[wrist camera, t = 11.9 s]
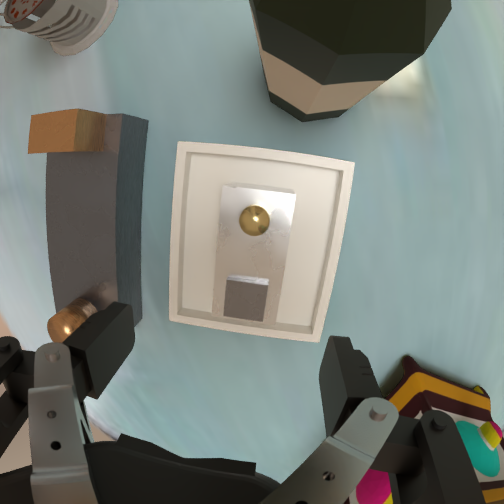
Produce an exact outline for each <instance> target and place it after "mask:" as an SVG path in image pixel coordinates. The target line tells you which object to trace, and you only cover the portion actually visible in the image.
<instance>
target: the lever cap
mask: <svg viewBox="0 0 504 504" xmlns="http://www.w3.org/2000/svg"><path fill="white" fill-rule="evenodd" d="M295 197H296V194H295V192H294V190H293V189H287V188H280V187H272V186H264V185H256V184H248V183H239V182H230V183H228V184H225V185H223V186H222V196H221V206H220V216H219V227H218V238H217V250H216V262H215V274H214V287H213V301H212V316H215V317H221V318H227V319H234V320H240V321H247V322H254V323H261V324H269V325H275V324H276V318H277V313H278V307H279V301H280V295H281V289H282V283H283V277H284V271H285V264H286V258H287V252H288V245H289V238H290V232H291V225H292V218H293V211H294V204H295Z"/></svg>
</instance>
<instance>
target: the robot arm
mask: <svg viewBox="0 0 504 504" xmlns="http://www.w3.org/2000/svg"><path fill="white" fill-rule="evenodd" d="M134 342H135V332H134V320H133V309H132V306H131V305H130V304H125V303H120V302H116V301H114V302H112V303H111V304H110V305H109V306H108V307H107V308H106V309H105V310H100V311H98V312H96V313H94V314H92V315H91V316H89V317H88V318H87V319H86V320H85V322H83V323H82V324H81V325H80V326H79V327H78V328H77V329H76V330H75V331H74V332H72V333H71V334H70V335H69V336H68V337H67V338H66V339H65V340H64V341H63V342H62V343H58V342H51V343H47V344H44V345H42V346H41V347H39V348H38V349H37V351H36V352H33V351H26V350H22V349H21V346H20V343H19V341H18V340H17V339H16V338H14V337H10V336H5V337H1V338H0V384H1V383H2V382H3V384H4V386H5V388H6V391H5V392H4V393H3V395H2V396H1V397H0V458H1V456H2V455H3V453H4V452H5V450H6V449H7V447H8V446H9V444H10V443H11V441H12V440H13V438H14V437H15V435H16V434H17V432H18V431H19V430H20V428H21V427H22V425H23V424H24V422H25V421H26V420H27V418H28V417H29V435H30V448H31V457H32V465H29V466H26V467H23V468H19V469H16V470H13V471H10V472H6V473H3V474H0V504H343V503H344V502H345V501H346V500H347V498H348V497H349V496H350V494H351V493H352V492H353V490H354V489H355V488H356V486H357V485H358V483H359V482H360V481H361V479H362V478H363V476H364V475H365V473H366V472H367V470H368V469H372V470H377V471H382V472H388V475H389V481H390V487H391V494H392V500H393V504H486V502H485V498H484V495H483V492H482V490H481V487H480V484H479V481H478V478H477V475H476V473H475V470H474V467H473V465H472V462H471V460H470V457H469V455H468V452H467V450H466V447H465V445H464V442H463V440H462V438H461V435H460V433H459V431H458V428H457V426H456V424H455V422H454V420H453V418H452V417H451V416H450V415H448V414H447V413H445V412H443V411H440V410H429V411H426V412H425V413H424V414H423V415H422V417H421V418H420V419H415V418H410V417H405V416H401V415H399V413H398V410H397V408H396V407H395V406H394V405H393V404H392V403H391V402H389V401H387V400H385V399H383V398H382V395H381V392H380V389H379V387H378V384H377V381H376V378H375V376H374V373H373V370H372V368H371V365H370V363H369V360H368V358H367V357H366V356H365V355H364V354H363V353H362V352H361V351H360V350H354V349H353V346H352V343H351V341H350V338H349V337H342V336H330V337H329V339H328V342H327V346H326V349H325V353H324V356H323V360H322V363H321V367H320V372H319V384H320V391H321V398H322V405H323V413H324V420H325V428H326V436H327V438H326V439H325V440H324V442H323V443H322V444H321V445H320V446H319V447H318V448H317V449H316V450H315V451H314V452H313V453H312V454H311V455H310V456H309V457H308V458H307V459H306V460H305V462H304V463H303V464H302V465H301V466H300V467H298V468H297V469H296V470H295V471H294V472H293V473H292V474H291V475H290V476H289V477H288V478H287V479H286V480H285V481H284V482H283V483H282V484H280V483H278V482H277V481H275V480H273V479H272V478H270V477H267V476H265V475H263V474H260V473H257V472H255V469H256V463H253V462H245V461H237V460H230V459H224V458H182V457H180V456H178V455H175V454H173V453H171V452H169V451H167V450H165V449H163V448H161V447H159V446H157V445H155V444H153V443H151V442H148V441H144V440H141V439H137V438H134V437H131V436H128V435H125V434H122V433H121V435H120V437H119V439H118V440H117V441H100V442H94V440H93V436H92V432H91V428H90V424H89V420H88V415H87V411H86V406H85V403H84V399H85V398H86V396H89V397H92V398H94V399H98V398H99V397H100V395H101V394H102V392H103V391H104V389H105V388H106V386H107V385H108V383H109V382H110V381H111V379H112V378H113V376H114V375H115V373H116V372H117V370H118V369H119V368H120V366H121V365H122V363H123V362H124V361H125V359H126V358H127V356H128V355H129V353H130V352H131V351H132V349H133V346H134Z"/></svg>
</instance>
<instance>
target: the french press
mask: <svg viewBox="0 0 504 504" xmlns="http://www.w3.org/2000/svg"><path fill="white" fill-rule="evenodd" d="M4 1H5V0H0V5H1V4H2V3H4ZM55 1H56V0H8V1H7V4H6V5H5V6H6V7H5V11H4V13H0V15H1V16H4V18H5V21H6V22H7V23H10V24H12V25H13V26H0V28H8V29H10V28H15V29H17V30H20V31H23V32H27V33H28V34H32V35H35V36H37V37H39V38H43V39H45V40H48V41H50V44H51V46H52V48H53V50H54V52H56V53H58V54H60V55H62V56H67V55H75V54H77V53H79V52H81V51H82V50H84V49H86V48H88V47H90V46H91V45H92V44H93V43H94V42H95V41H96V40H97V39H98V38H100V37H101V36H102V35H103V33H104V32H105V30H106V29H107V28H108V26H109V25H110V24H111V22H112V21H113V18H114V16H115V13H116V10H117V8H118V0H57V1H56V2H55ZM30 14H33V15H35V16H38V17H40V18H41V19H39V20H38V21H37V22H35V21H33V20H30V19H28V18H26V17H27V16H28V15H30ZM51 24H52V27H51V28H49V27H47V26H49V25H51Z"/></svg>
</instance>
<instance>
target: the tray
mask: <svg viewBox="0 0 504 504" xmlns="http://www.w3.org/2000/svg"><path fill="white" fill-rule="evenodd" d="M354 165H355V162H350V161H344V160H339V159H333V158H327V157H321V156H315V155H309V154H302V153H296V152H289V151H281V150H273V149H265V148H257V147H247V146H237V145H226V144H214V143H200V142H182V141H178V145H177V155H176V165H175V177H174V189H173V203H172V220H171V240H170V271H169V320H170V321H175V322H180V323H185V324H190V325H196V326H202V327H207V328H213V329H219V330H225V331H232V332H238V333H245V334H252V335H259V336H266V337H274V338H282V339H290V340H299V341H308V342H318V343H319V341H320V337H321V333H322V329H323V325H324V321H325V317H326V313H327V309H328V305H329V301H330V296H331V292H332V287H333V283H334V278H335V274H336V269H337V264H338V259H339V254H340V249H341V244H342V239H343V234H344V228H345V223H346V217H347V211H348V205H349V199H350V192H351V186H352V179H353V172H354ZM230 182H239V183H248V184H256V185H264V186H272V187H280V188H287V189H293V190H294V192H295V194H296V197H295V204H294V211H293V218H292V225H291V232H290V238H289V245H288V252H287V258H286V264H285V271H284V277H283V283H282V289H281V295H280V301H279V307H278V313H277V318H276V324H275V325H269V324H261V323H254V322H247V321H240V320H234V319H227V318H221V317H215V316H212V301H213V287H214V274H215V262H216V250H217V238H218V227H219V216H220V206H221V196H222V186H223V185H225V184H228V183H230Z"/></svg>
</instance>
